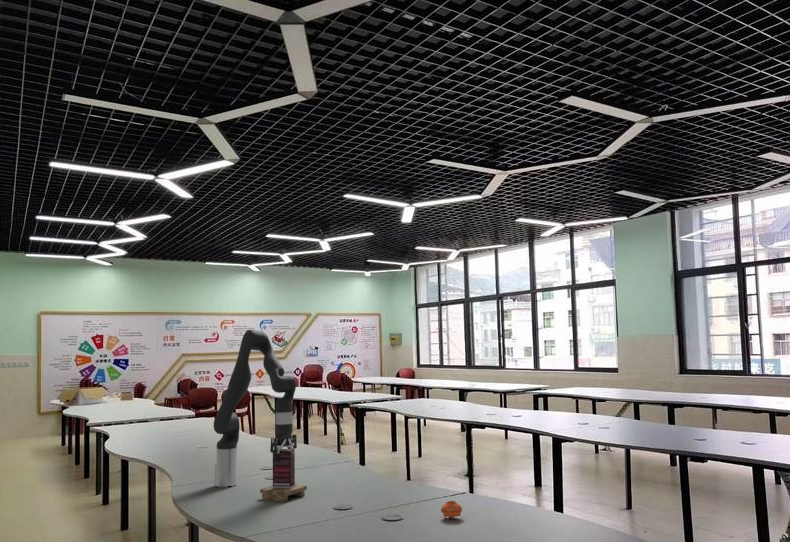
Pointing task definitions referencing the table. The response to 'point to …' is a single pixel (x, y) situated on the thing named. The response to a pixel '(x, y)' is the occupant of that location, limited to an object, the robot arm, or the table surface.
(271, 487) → the tan board
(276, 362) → the robot arm
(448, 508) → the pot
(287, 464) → the supplement box
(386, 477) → the table surface
